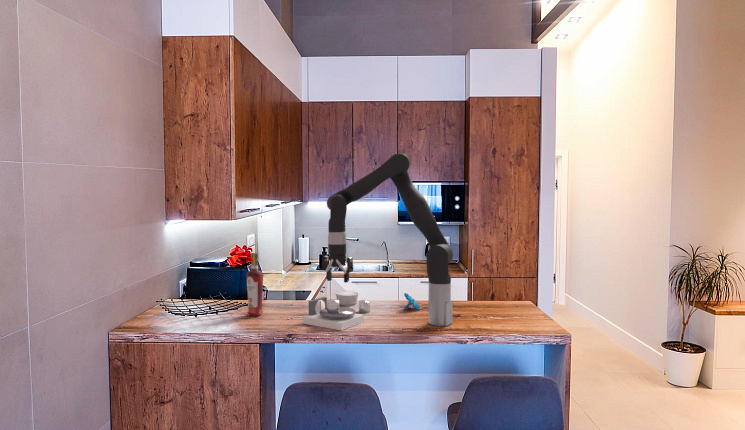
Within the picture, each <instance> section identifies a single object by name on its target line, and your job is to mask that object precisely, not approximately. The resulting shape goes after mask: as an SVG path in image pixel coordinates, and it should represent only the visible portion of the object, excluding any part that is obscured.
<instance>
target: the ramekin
mask: <svg viewBox="0 0 745 430" xmlns="http://www.w3.org/2000/svg"><path fill="white" fill-rule="evenodd" d="M358 296H359V292H357V291H355V290H342V291H341V290H340V291H337V292H335V297H336V298H335V299H336V300H339V306H353V305H356V304H357V302H358V298H359V297H358Z"/></svg>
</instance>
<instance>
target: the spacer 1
mask: <svg viewBox="0 0 745 430" xmlns="http://www.w3.org/2000/svg"><path fill="white" fill-rule="evenodd" d="M339 307H340V305H339V300H337V298H335V299H333V298H332V299H331V298H330V299H327V313H328V314H338V313H339Z"/></svg>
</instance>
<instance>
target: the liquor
mask: <svg viewBox="0 0 745 430" xmlns="http://www.w3.org/2000/svg"><path fill="white" fill-rule="evenodd" d="M258 255H259V253H258V252H251V267H250V268H251V270H249V271H248V272H246V275H245V276H246V287H247V288H246V290H247V305H248V306H247V307H248V310H247V315H249V316H250V317H255V318H256V317H260V316H261V315H262V314H264V311H263V289H264V272H263V271H261V270H259V265H258V264H259V263H258V257H259V256H258Z"/></svg>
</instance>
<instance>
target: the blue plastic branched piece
mask: <svg viewBox="0 0 745 430" xmlns="http://www.w3.org/2000/svg"><path fill="white" fill-rule="evenodd" d="M403 296H404V297H405V299H406V300H407V301H408V302H407V304H406V305H405V306H404V307H403V309H404V310H406V309H407V308H409V307H410V306H412V307H413V308H415V309H416V311H417V310H418V311H419V310H421V307H420V305H419V303H417V301H416V299H415V298H413V297H412V295H409V293H406V292H405V293H404V295H403Z"/></svg>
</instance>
